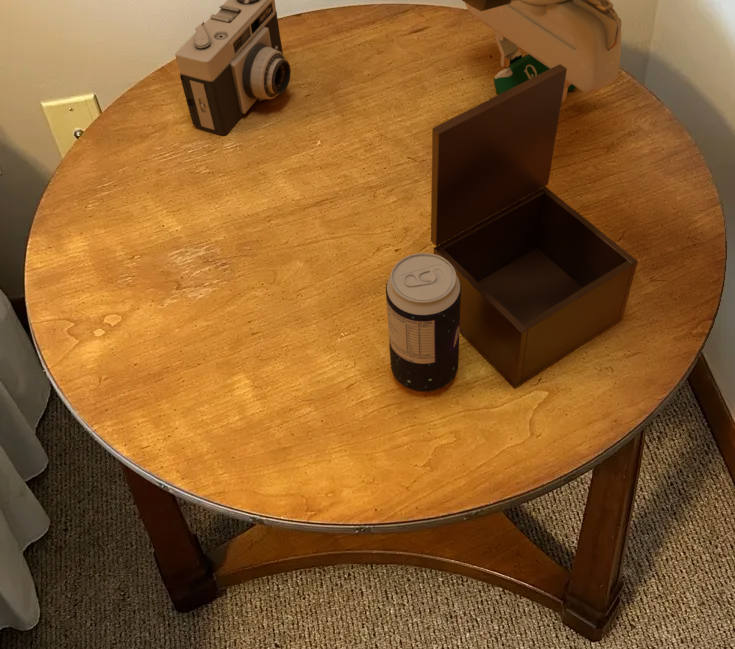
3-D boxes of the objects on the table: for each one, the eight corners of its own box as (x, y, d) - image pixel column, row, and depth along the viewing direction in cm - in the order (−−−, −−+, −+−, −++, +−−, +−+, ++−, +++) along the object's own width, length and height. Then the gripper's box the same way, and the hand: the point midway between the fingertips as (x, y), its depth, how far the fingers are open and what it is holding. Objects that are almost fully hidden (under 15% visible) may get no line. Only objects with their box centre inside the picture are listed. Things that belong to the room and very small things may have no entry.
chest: (622, 319, 76) (638, 260, 70) (514, 388, 72) (521, 333, 66) (536, 245, 82) (544, 185, 76) (433, 305, 78) (433, 247, 72)
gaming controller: (562, 93, 99) (536, 46, 97) (584, 83, 95) (558, 34, 94) (507, 131, 95) (480, 83, 94) (528, 123, 92) (500, 72, 90)
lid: (567, 68, 66) (560, 63, 66) (438, 133, 62) (432, 127, 62) (548, 184, 75) (542, 179, 76) (436, 246, 72) (430, 241, 72)
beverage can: (464, 391, 72) (469, 299, 63) (397, 403, 72) (392, 311, 62) (449, 338, 76) (452, 243, 66) (385, 349, 75) (379, 255, 66)
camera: (254, 146, 93) (238, 67, 86) (190, 128, 96) (169, 49, 88) (315, 72, 101) (305, -7, 93) (254, 57, 103) (239, -21, 96)
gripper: (648, -3, 79) (622, 119, 90) (502, -87, 90) (495, 31, 101) (596, 22, 77) (576, 144, 88) (454, -67, 88) (452, 51, 99)
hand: (532, 83), depth 94 cm, fingers closed on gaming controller, 6 cm apart
